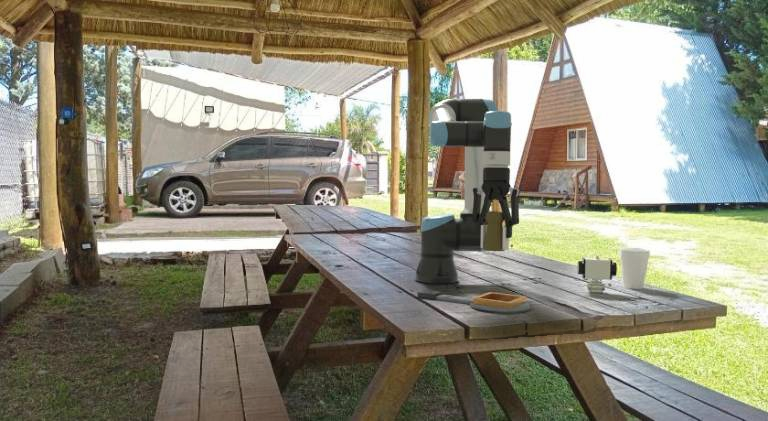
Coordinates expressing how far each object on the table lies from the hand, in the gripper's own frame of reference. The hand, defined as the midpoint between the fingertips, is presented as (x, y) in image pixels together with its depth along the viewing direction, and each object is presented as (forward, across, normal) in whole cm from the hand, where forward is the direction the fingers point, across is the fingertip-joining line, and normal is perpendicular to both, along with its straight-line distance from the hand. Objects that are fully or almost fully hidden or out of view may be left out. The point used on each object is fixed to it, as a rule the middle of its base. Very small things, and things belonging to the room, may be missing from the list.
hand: (494, 248), depth 178 cm
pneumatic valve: (+17, +16, +43) cm, 49 cm away
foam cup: (+17, +24, +60) cm, 67 cm away
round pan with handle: (+17, -7, +1) cm, 18 cm away
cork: (+1, 0, 0) cm, 1 cm away
